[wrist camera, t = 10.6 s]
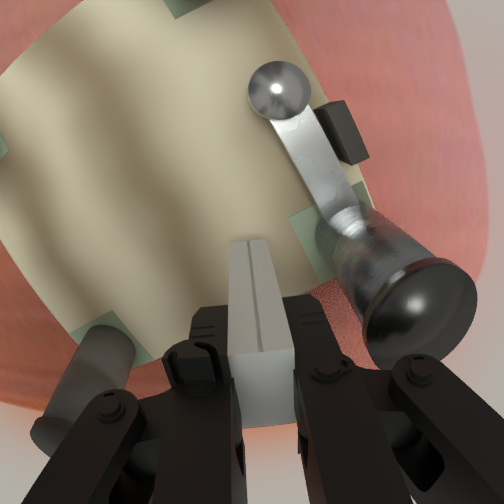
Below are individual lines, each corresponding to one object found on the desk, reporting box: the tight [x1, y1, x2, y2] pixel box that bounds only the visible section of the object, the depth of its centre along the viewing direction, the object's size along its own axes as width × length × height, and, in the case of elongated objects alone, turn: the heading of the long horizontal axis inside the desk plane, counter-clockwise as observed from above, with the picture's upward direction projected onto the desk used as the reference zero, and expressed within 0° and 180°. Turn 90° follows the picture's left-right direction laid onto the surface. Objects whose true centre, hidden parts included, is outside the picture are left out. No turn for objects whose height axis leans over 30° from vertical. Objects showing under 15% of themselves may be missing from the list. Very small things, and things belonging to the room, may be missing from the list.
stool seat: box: [0, 0, 375, 458], centre depth 11 cm, size 18×18×10 cm
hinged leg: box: [247, 61, 477, 370], centre depth 10 cm, size 10×4×7 cm, turn 30°
